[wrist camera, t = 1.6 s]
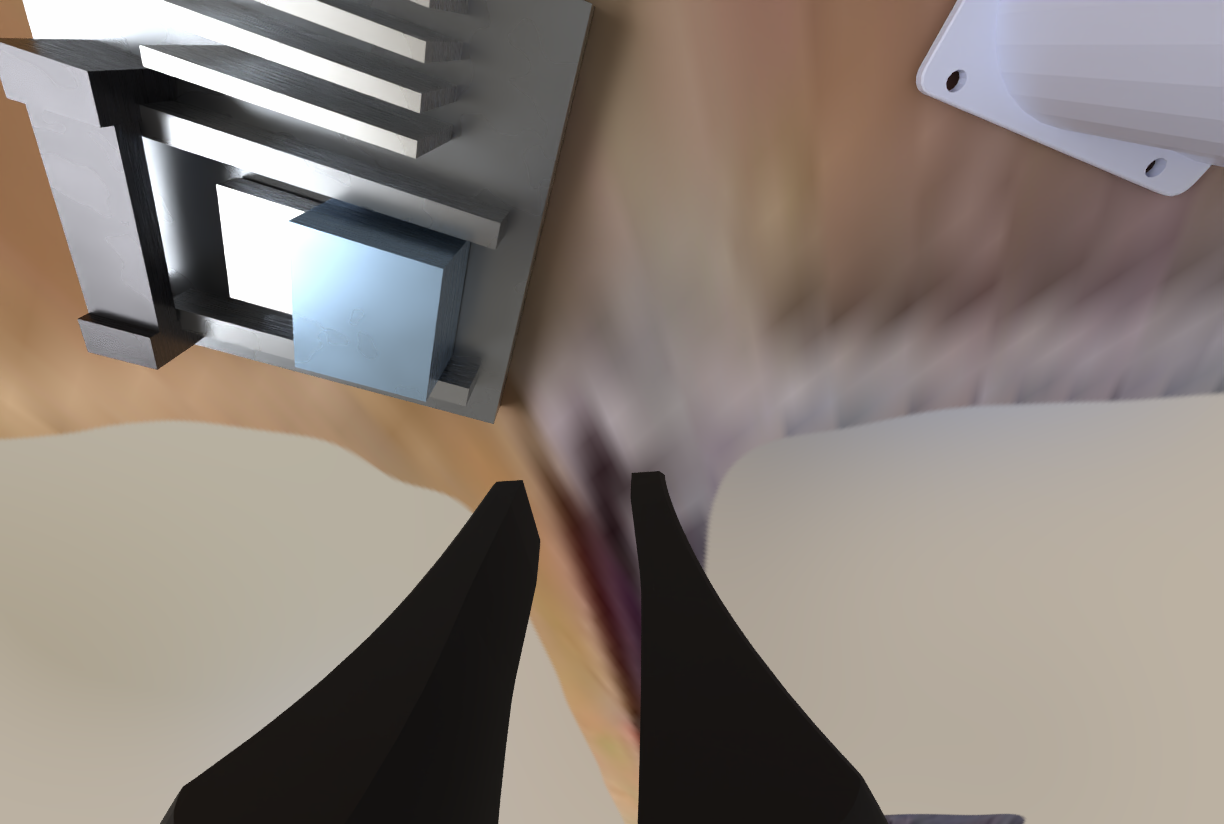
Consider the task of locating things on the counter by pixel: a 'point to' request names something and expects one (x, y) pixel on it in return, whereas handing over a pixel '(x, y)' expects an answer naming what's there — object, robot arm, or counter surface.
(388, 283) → the blue-grey rectangular block
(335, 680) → the robot arm
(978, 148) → the counter surface
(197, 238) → the heatsink base
